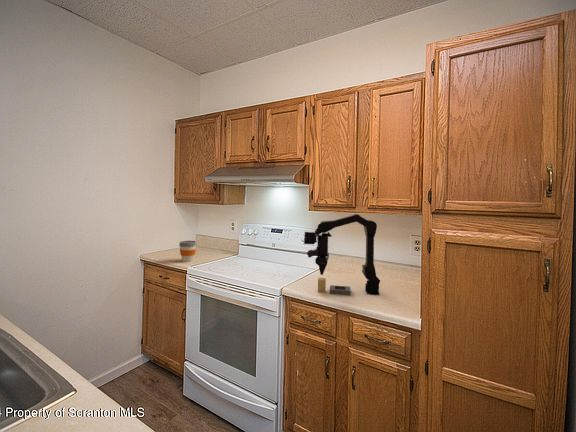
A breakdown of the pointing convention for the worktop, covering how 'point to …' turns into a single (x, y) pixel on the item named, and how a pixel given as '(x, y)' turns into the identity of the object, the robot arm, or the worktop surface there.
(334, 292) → the steel rail
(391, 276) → the worktop surface
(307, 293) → the worktop surface
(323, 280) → the brass block
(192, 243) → the reusable coffee cup
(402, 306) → the worktop surface
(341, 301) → the worktop surface
